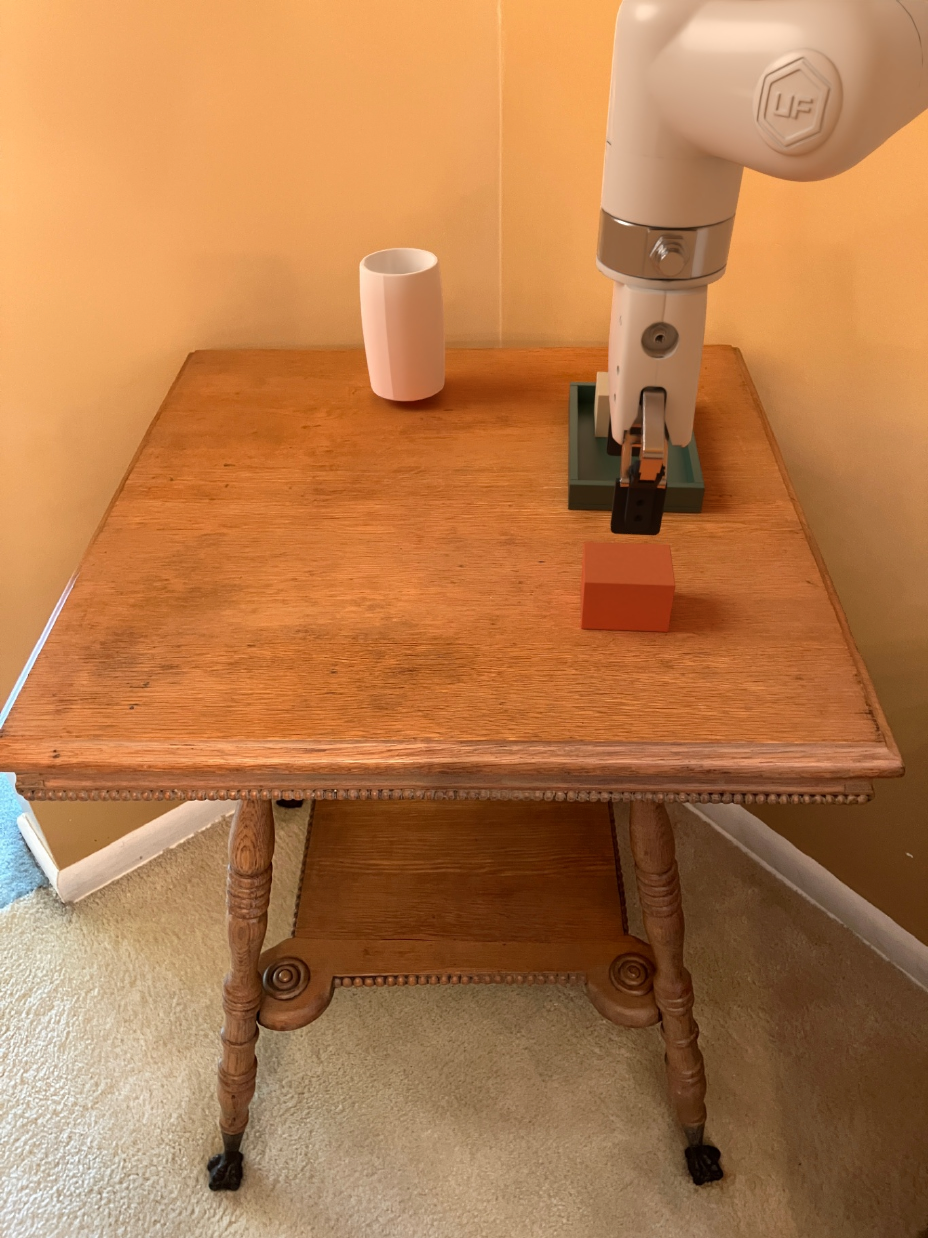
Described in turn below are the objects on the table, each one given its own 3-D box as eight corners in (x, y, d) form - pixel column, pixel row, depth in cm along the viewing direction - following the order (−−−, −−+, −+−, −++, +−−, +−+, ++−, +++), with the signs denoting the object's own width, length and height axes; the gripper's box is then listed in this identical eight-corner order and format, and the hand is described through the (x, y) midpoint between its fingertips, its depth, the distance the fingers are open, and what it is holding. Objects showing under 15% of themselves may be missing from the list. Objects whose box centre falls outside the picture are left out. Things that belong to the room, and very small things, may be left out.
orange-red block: (668, 632, 68) (675, 585, 66) (580, 628, 69) (584, 582, 66) (663, 590, 72) (670, 544, 69) (580, 587, 73) (583, 541, 70)
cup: (459, 382, 100) (454, 250, 91) (431, 418, 94) (423, 280, 85) (387, 372, 103) (376, 242, 93) (356, 406, 97) (341, 271, 88)
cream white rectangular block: (662, 438, 89) (667, 396, 86) (594, 437, 89) (598, 394, 87) (658, 413, 93) (663, 372, 90) (593, 412, 93) (597, 371, 90)
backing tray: (700, 513, 80) (705, 487, 78) (567, 509, 81) (569, 484, 79) (681, 406, 95) (684, 383, 93) (568, 404, 96) (569, 381, 94)
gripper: (751, 301, 46) (698, 570, 57) (712, 194, 59) (675, 430, 70) (600, 298, 46) (577, 564, 58) (594, 192, 59) (576, 427, 71)
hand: (630, 491), depth 64 cm, fingers open, 9 cm apart
